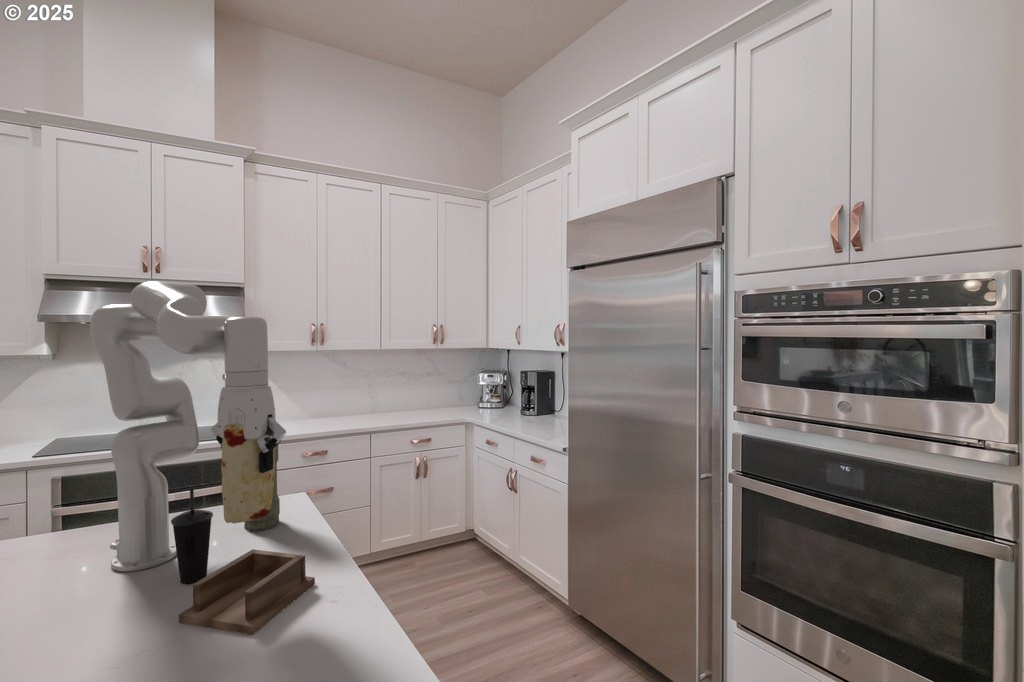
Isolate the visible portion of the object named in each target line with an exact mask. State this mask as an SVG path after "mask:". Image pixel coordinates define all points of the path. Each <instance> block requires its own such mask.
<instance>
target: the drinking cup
mask: <svg viewBox="0 0 1024 682" xmlns="http://www.w3.org/2000/svg"><path fill="white" fill-rule="evenodd" d="M194 491H195V490H194V487H193V486H191V487H189V503H190V504H189V510H187V511H183V512H182V513H179V515H176V516H174V517H172V519H171V520H170V523H171V525H172V527H173V535H174V545H175V546H176V552H177V554H176V560H177V565H178V566H177V567H178V573H179V574H178V575H179V581H180V584H181V585H184V584H185V586H187V585H189V584H190V585H193V584H194V583H196V582H198V581H199V580H201V579H203V578H204V577H206V576H208V565H209V552H210V550H209V549H210V540H211V539H210V538H211V529H212V528H211V527H212V526H211V525H212V518H213V516H214V513H213V511H211V510H205V509H195V498H194V497H195V496H194V495H195V494H194ZM190 585H189V586H190Z"/></svg>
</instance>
